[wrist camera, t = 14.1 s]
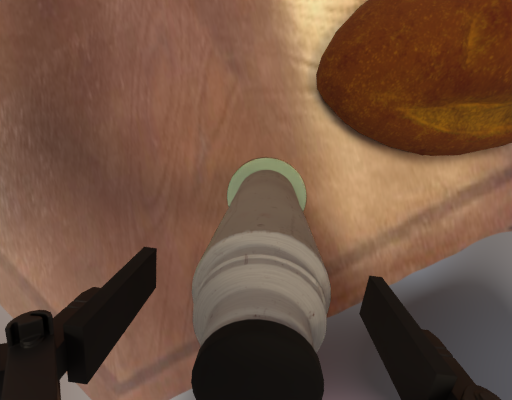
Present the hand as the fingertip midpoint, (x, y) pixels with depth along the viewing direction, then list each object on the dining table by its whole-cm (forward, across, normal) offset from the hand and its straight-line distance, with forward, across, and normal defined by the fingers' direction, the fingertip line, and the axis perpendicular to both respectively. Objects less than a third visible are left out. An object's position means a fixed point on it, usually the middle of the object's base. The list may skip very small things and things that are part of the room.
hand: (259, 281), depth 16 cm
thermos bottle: (+21, 0, 0) cm, 21 cm away
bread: (+22, +20, +19) cm, 35 cm away
